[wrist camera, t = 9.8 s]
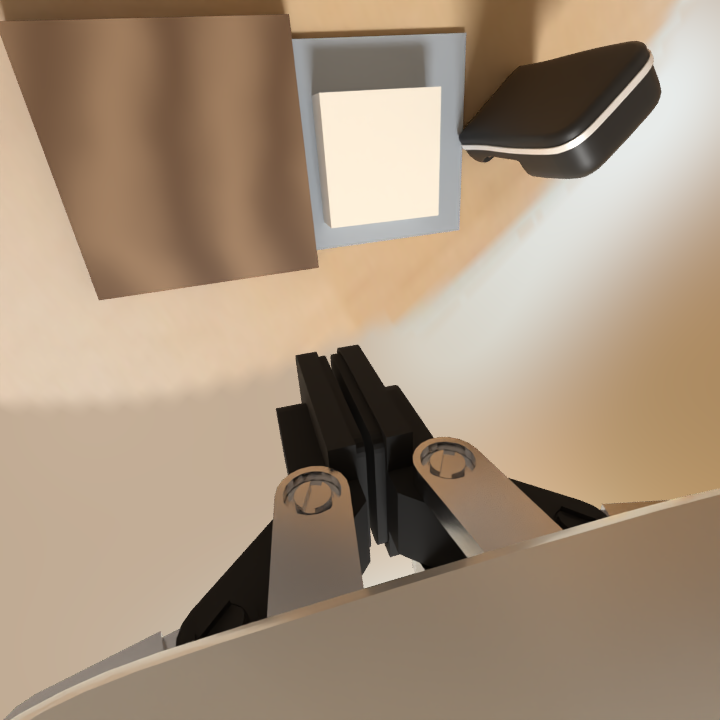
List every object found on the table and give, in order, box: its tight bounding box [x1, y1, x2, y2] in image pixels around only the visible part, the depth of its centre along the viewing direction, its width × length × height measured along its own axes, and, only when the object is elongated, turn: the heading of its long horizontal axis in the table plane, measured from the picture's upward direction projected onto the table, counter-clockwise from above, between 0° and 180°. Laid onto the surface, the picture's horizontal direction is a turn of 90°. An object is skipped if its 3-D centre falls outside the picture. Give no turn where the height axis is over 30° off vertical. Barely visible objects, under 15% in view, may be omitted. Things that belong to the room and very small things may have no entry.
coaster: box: [312, 86, 441, 228], centre depth 30 cm, size 8×8×2 cm
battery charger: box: [459, 41, 661, 179], centre depth 28 cm, size 7×4×11 cm, turn 134°
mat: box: [292, 33, 466, 250], centre depth 31 cm, size 12×13×1 cm
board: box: [0, 14, 319, 300], centre depth 28 cm, size 15×15×2 cm
